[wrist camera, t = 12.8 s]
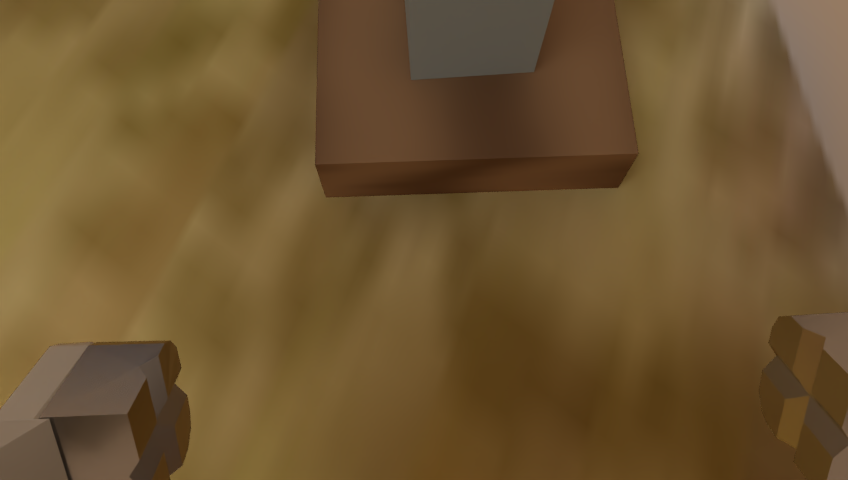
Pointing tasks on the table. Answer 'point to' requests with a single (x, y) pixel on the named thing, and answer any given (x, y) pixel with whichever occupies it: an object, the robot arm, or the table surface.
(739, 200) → the table surface
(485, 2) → the pillar
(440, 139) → the base slab
